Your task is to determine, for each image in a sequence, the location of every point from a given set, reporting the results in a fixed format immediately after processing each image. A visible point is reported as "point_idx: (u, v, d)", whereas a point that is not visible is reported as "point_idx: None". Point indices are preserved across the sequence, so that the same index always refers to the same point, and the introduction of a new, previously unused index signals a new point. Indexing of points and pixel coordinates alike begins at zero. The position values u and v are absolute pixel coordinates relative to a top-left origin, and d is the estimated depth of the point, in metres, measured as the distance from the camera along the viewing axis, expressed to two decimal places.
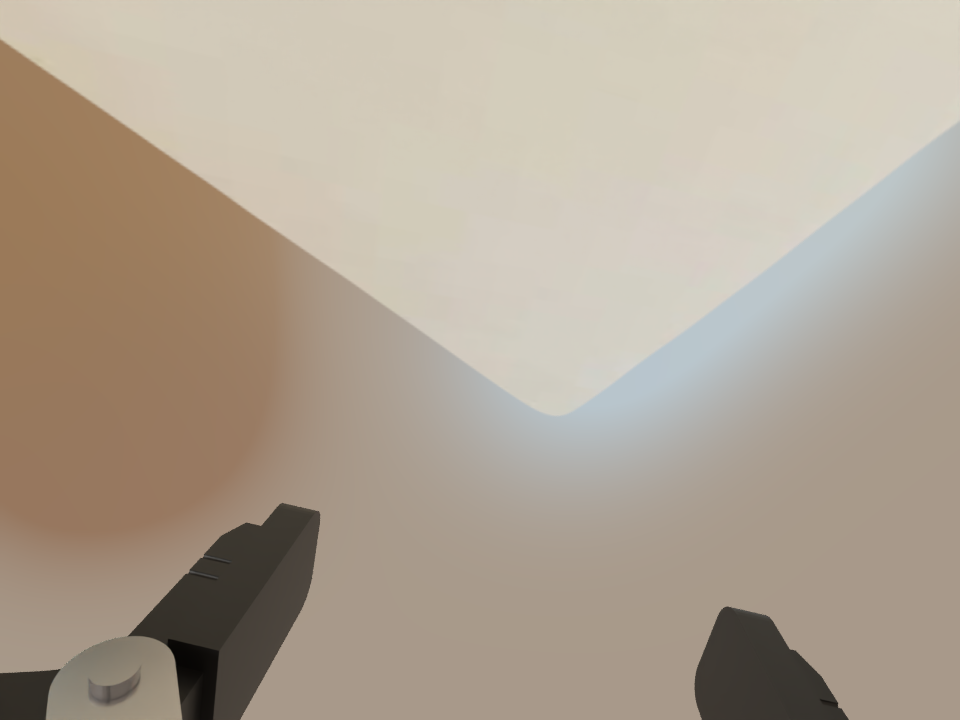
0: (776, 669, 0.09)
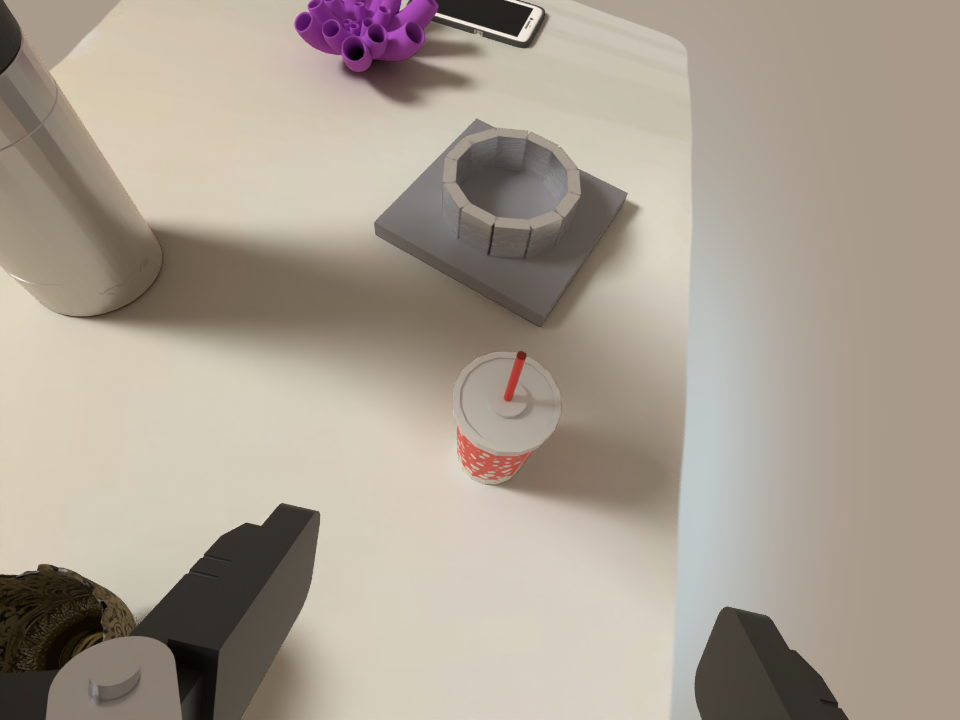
0: (776, 669, 0.09)
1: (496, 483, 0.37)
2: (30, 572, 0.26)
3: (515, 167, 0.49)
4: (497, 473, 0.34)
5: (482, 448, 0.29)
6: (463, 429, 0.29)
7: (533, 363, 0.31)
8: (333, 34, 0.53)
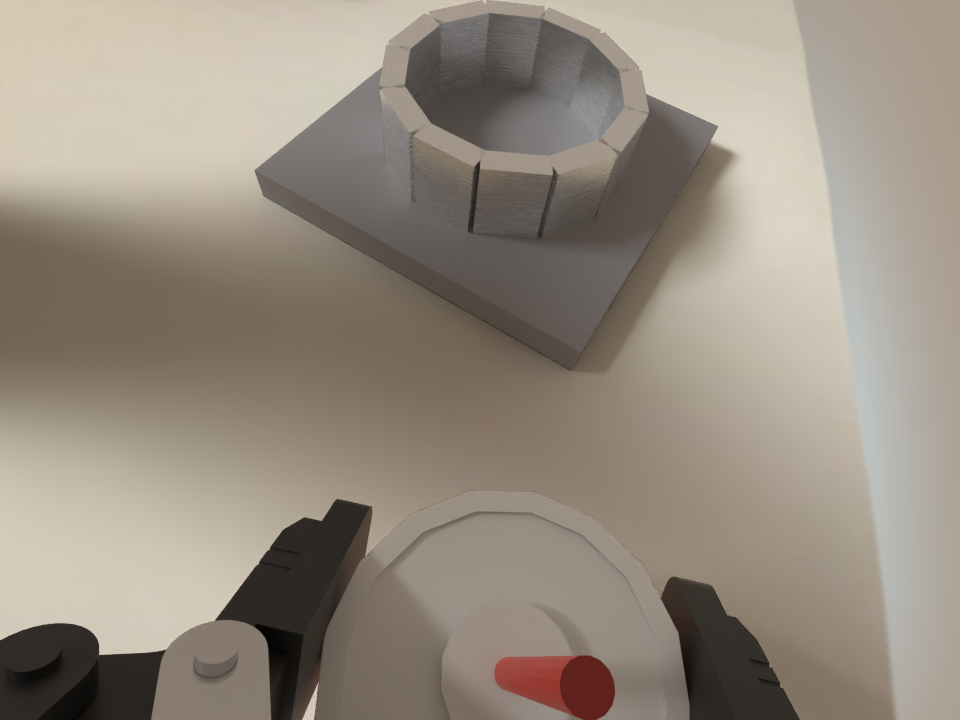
0: (710, 631, 0.09)
1: None
2: None
3: (520, 81, 0.28)
4: None
5: None
6: None
7: (587, 527, 0.10)
8: None
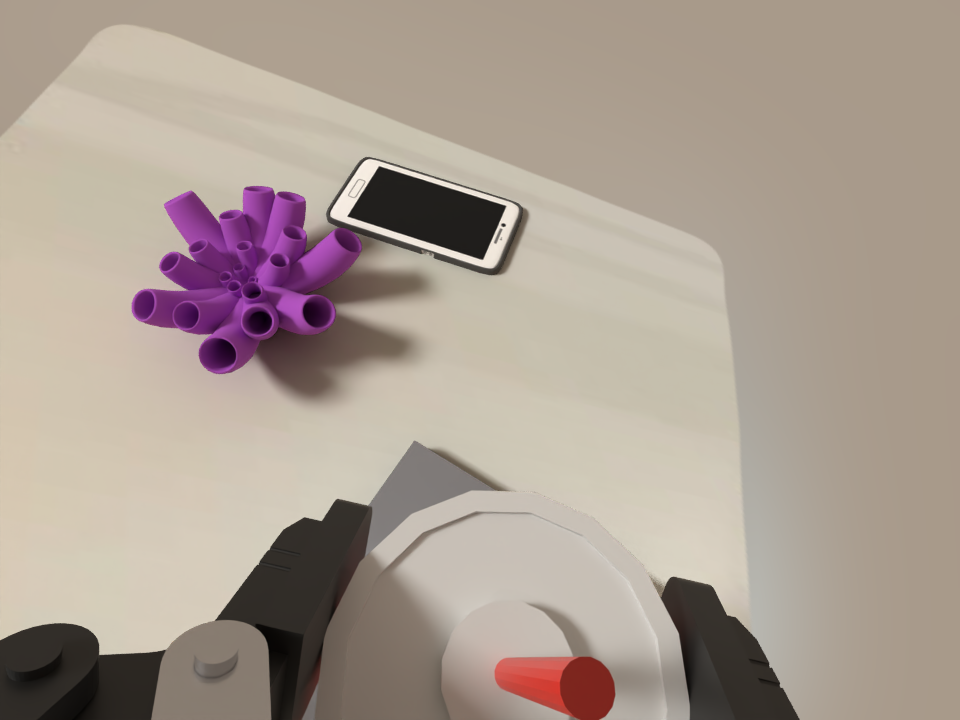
0: (710, 631, 0.09)
1: None
2: None
3: None
4: None
5: None
6: None
7: (588, 528, 0.10)
8: (197, 310, 0.35)
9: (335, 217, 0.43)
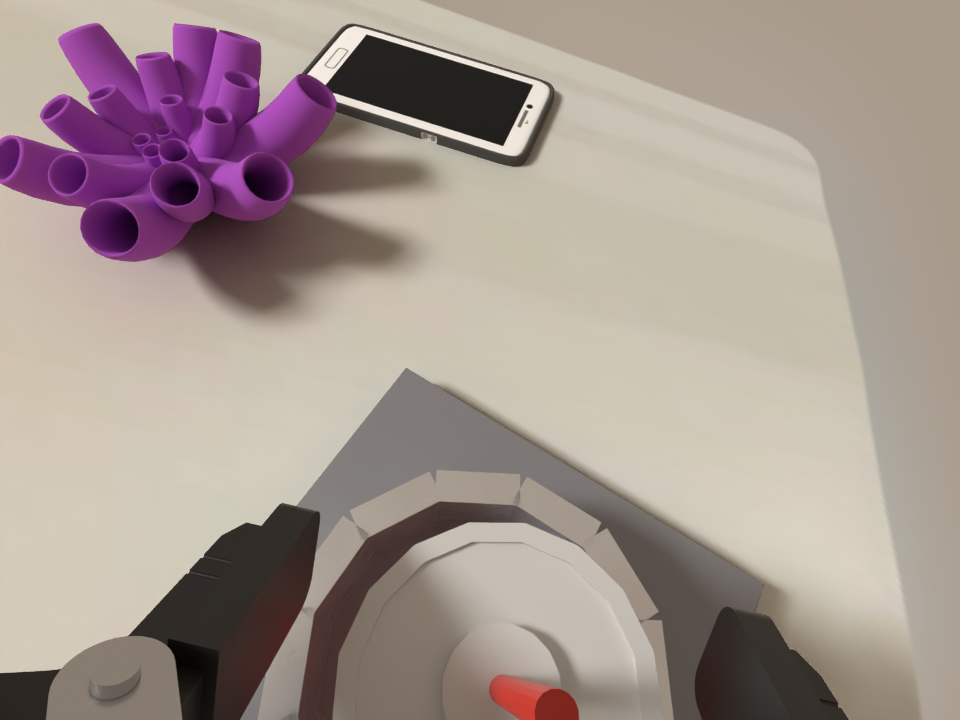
0: (776, 669, 0.09)
1: None
2: None
3: None
4: None
5: None
6: None
7: (573, 555, 0.11)
8: None
9: None
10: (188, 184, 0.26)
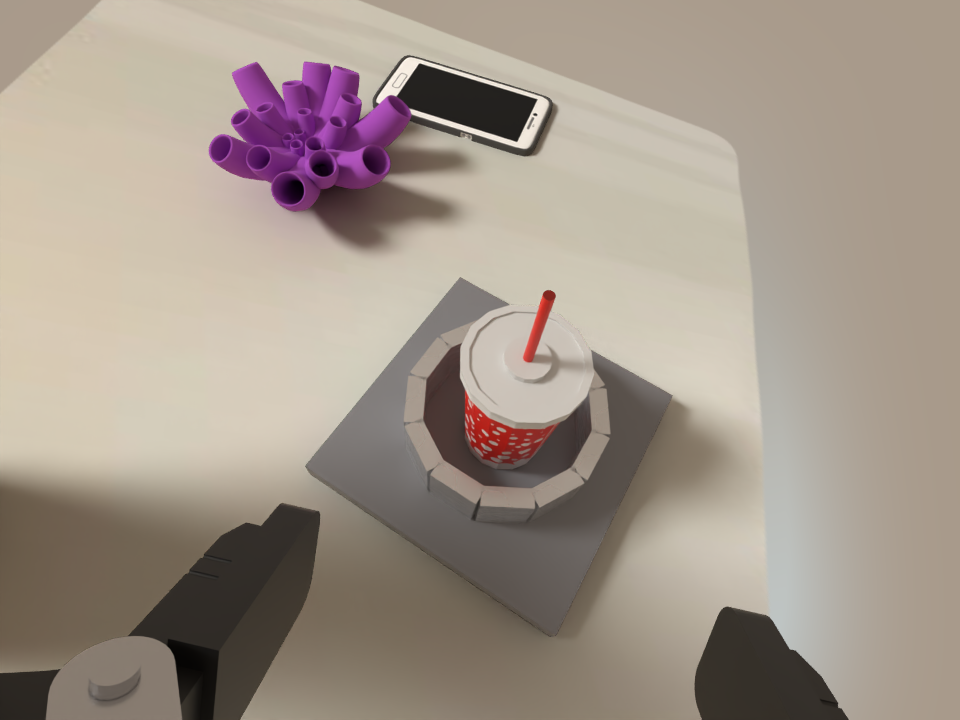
0: (776, 669, 0.09)
1: (511, 468, 0.31)
2: None
3: None
4: (513, 454, 0.29)
5: (497, 419, 0.24)
6: (474, 396, 0.24)
7: (557, 317, 0.26)
8: (265, 160, 0.38)
9: None
10: (318, 165, 0.40)
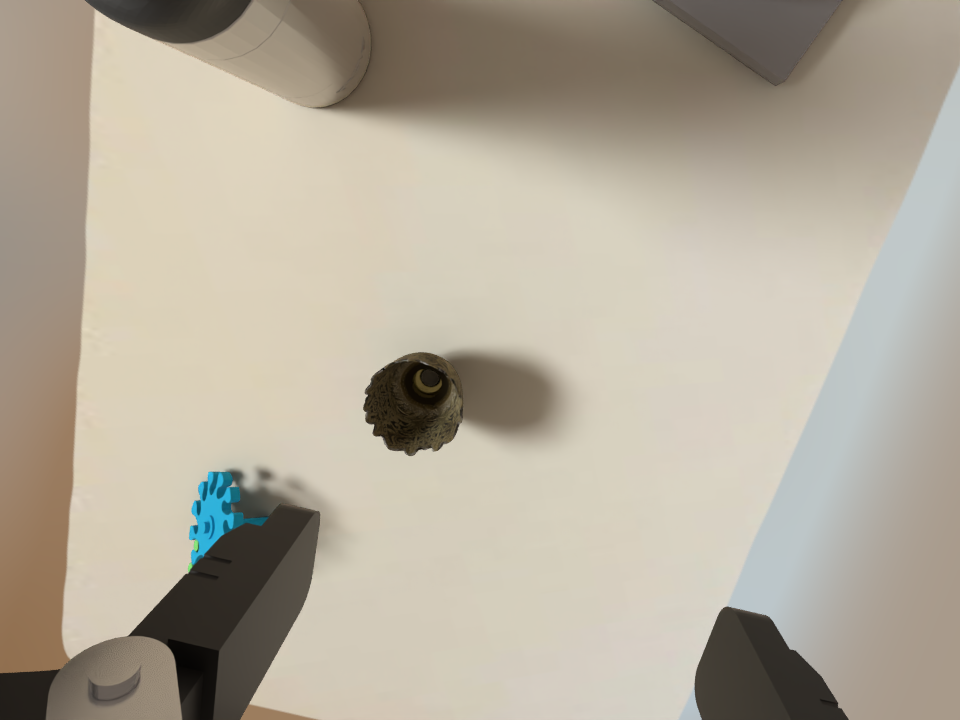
0: (776, 669, 0.09)
1: None
2: (401, 360, 0.40)
3: None
4: None
5: None
6: None
7: None
8: None
9: None
10: None
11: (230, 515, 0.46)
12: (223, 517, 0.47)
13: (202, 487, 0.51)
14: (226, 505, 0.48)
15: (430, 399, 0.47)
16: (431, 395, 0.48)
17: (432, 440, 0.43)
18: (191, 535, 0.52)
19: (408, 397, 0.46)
